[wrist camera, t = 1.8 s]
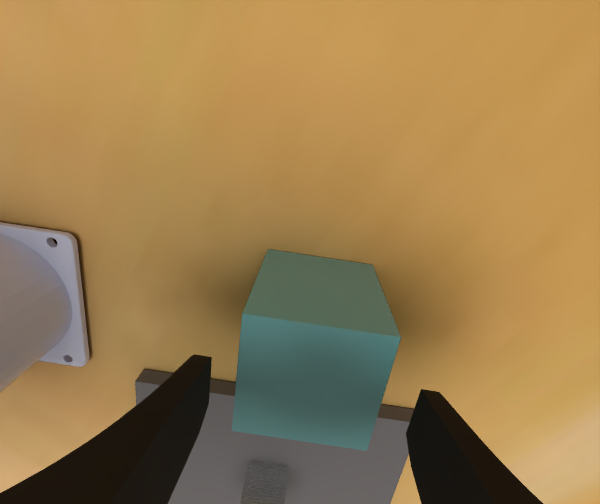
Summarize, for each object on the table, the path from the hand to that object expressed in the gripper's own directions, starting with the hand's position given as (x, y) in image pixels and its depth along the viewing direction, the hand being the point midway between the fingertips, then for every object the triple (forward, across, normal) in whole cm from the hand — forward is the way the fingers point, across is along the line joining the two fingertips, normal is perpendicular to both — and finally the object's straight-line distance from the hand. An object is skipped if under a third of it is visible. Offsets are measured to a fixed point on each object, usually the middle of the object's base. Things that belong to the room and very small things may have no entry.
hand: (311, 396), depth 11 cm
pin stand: (+6, +1, +12) cm, 14 cm away
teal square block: (+6, 0, 0) cm, 6 cm away
